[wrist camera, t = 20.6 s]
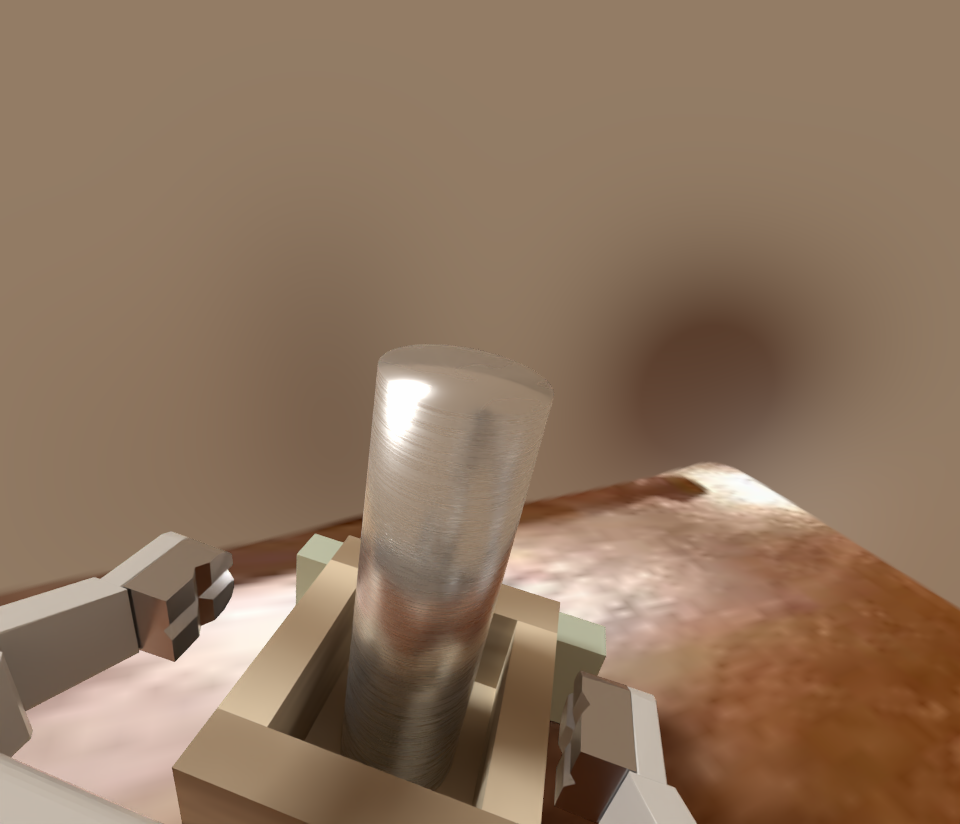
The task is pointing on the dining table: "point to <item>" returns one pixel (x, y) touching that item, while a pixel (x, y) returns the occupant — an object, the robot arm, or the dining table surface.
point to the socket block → (319, 721)
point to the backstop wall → (575, 637)
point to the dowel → (435, 547)
